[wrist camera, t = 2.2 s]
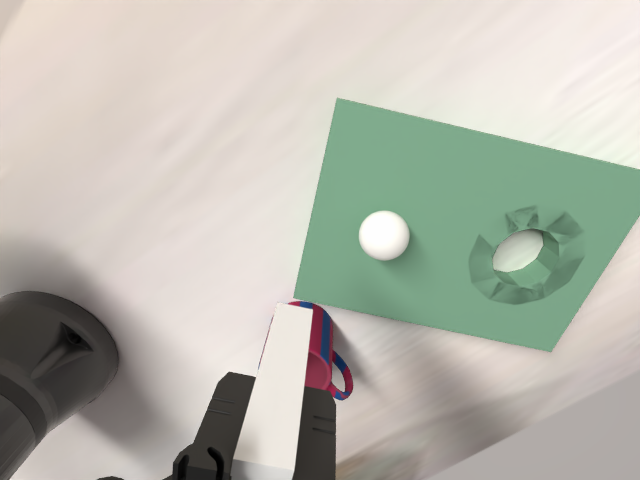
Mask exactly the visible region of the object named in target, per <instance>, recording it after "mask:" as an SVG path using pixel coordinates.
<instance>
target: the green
mask: <svg viewBox="0 0 640 480" xmlns="http://www.w3.org/2000/svg"><path fill="white" fill-rule="evenodd" d="M377 211H391V212H394V213H396V214H398V215H399V216H401V217H402V218H403V219H404V220H405V222H406V223H407V225H408V228H409V233H410V238H409V243H408V245H407V248H406V249H405V251H404V252H403V253H402V254H401V255H399V256H398V257H396V258H394V259H391V260H386V261H383V260H377V259H374V258H372V257H370V256H369V255H368V254H366V253H365V251H364V250H363V249H362V247H361V245H360V242H359V230H360V227H361V224H362V222H363V221H364V220H365V219H366V218H367V217H368V216H369V215H371V214H372V213H374V212H377ZM639 216H640V170H639V169H635V168H631V167H627V166H623V165H619V164H614V163H610V162H606V161H602V160H597V159H593V158H589V157H585V156H581V155H576V154H572V153H568V152H564V151H560V150H555V149H551V148H547V147H543V146H538V145H534V144H530V143H526V142H522V141H517V140H513V139H509V138H505V137H501V136H496V135H492V134H488V133H484V132H479V131H475V130H471V129H467V128H463V127H458V126H454V125H450V124H446V123H442V122H437V121H433V120H429V119H425V118H420V117H416V116H412V115H408V114H404V113H399V112H395V111H391V110H387V109H383V108H378V107H374V106H370V105H366V104H361V103H357V102H353V101H349V100H345V99H340V98H337V100H336V105H335V110H334V114H333V119H332V123H331V128H330V132H329V137H328V141H327V146H326V150H325V155H324V160H323V164H322V169H321V173H320V178H319V182H318V187H317V191H316V196H315V201H314V205H313V210H312V214H311V219H310V223H309V228H308V232H307V237H306V242H305V246H304V251H303V255H302V260H301V264H300V269H299V273H298V278H297V283H296V287H295V292H294V297H293V298H295V299H300V300H305V301H309V302H314V303H319V304H324V305H329V306H333V307H338V308H343V309H348V310H352V311H357V312H362V313H367V314H372V315H376V316H381V317H386V318H391V319H395V320H400V321H405V322H410V323H415V324H419V325H424V326H429V327H434V328H438V329H443V330H448V331H453V332H458V333H462V334H467V335H472V336H477V337H481V338H486V339H491V340H496V341H501V342H505V343H510V344H515V345H520V346H525V347H529V348H534V349H539V350H544V351H548V352H551V351H552V350H553V348H554V347H555V345H556V344H557V342H558V340H559V339H560V337H561V336H562V334H563V333H564V331H565V330H566V328H567V327H568V325H569V324H570V322H571V320H572V319H573V317H574V316H575V314H576V313H577V311H578V310H579V308H580V307H581V305H582V303H583V302H584V300H585V299H586V297H587V296H588V294H589V293H590V291H591V290H592V288H593V287H594V285H595V283H596V282H597V280H598V279H599V277H600V276H601V274H602V273H603V271H604V270H605V268H606V266H607V265H608V263H609V262H610V260H611V259H612V257H613V256H614V254H615V253H616V251H617V250H618V248H619V246H620V245H621V243H622V242H623V240H624V239H625V237H626V236H627V234H628V233H629V231H630V229H631V228H632V226H633V225H634V223H635V222H636V220H637V219H638V217H639ZM530 228H534V229H539V230H542V231H543V243H544V246H543V247H542V249H541V251H540V253H539V255H538V257H537V258H536V260H534V261H533V262H531V263H530V264H529V265H527V266H526V267H525V268H523V269H520V270H516V271H512V272H507V273H506V272H502V271H497V270H493V264H492V258H493V255H494V253H495V251H496V249H497V247H498V245H499V244H500V243H501V242H502V241H504V240H505V239H506V238H507V237H509V236H510V235H511V234H513V233H514V232H518V231H522V230H526V229H530Z"/></svg>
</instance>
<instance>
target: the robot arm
mask: <svg viewBox="0 0 640 480" xmlns="http://www.w3.org/2000/svg"><path fill="white" fill-rule="evenodd" d="M312 314H313V309H308V308H303V307H298V306H294V305H289V304H284V303H279V302H278V303H277V306H276V310H275V313H274V317H273V320H272V324H271V327H270V331H269V334H268V338H267V341H266V345H265V348H264V352H263V355H262V359H261V362H260V366H259V369H258V373H257V376H256V377H253V376H248V375H243V374H238V373H233V372H228V373H227V374H226V375H225V376H224V377H223V378H222V379H221V380H220V381H219V382H218V384H217V386H216V389H215V391H214V394H213V396H212V399H211V401H210V404H209V406H208V409H207V411H206V413H205V416H204V418H203V421H202V423H201V426H200V428H199V430H198V433H197V435H196V438H195V440H194V443H193V444H191V445H189V446H188V447H186V448H185V449H184V450H183V451H181V452H180V453H179V455H178V456H177V458H176V459H175V461H174V462H173V474H172V475H171V476H169V477H167V478H165V479H163V480H335V467H336V435H335V434H336V404H335V401H334V399H333V396H332V394H331V392H330V391H327V390H322V389H317V388H312V387H307V386H304V383H305V374H306V366H307V357H308V349H309V340H310V331H311V323H312ZM117 367H118V354H117V350H116V347H115V344H114V342H113V340H112V338H111V336H110V335H109V333H108V332H107V331H106V329H105V328H104V327H103V326H102V325H101V323H100V322H99V321H98V320H96V319H95V318H94V317H93V316H92V315H91V314H89V313H88V312H87V311H85V310H84V309H82V308H81V307H79V306H78V305H76V304H74V303H72V302H70V301H68V300H66V299H63V298H61V297H58V296H55V295H51V294H47V293H42V292H32V291H24V292H16V293H12V294H9V295H6V296H4V297H2V298H0V480H9V479H10V478H11V477H12V476H13V474H14V473H15V472H16V471H17V470H18V468H19V467H20V466H21V465H22V463H23V462H24V461H25V460H26V459H27V457H28V456H29V455H30V454H31V452H32V451H33V450H34V449H35V447H36V446H37V445H38V444H39V443H40V442H41V440H42V439H43V438H44V437H45V436H46V435H47V433H49V432H50V431H51V430H53V429H54V428H55V427H57V426H58V425H59V424H61V423H62V422H64V421H65V420H66V419H68V418H69V417H71V416H72V415H73V414H75V413H76V412H77V411H79V410H80V409H81V408H83V407H84V406H85V405H86V404H88V403H90V402H92V401H93V400H94V399H96V398H97V397H98V396H99V395H100V394H101V393H102V392H103V390H104V389H105V388H106V387H107V385H108V384H109V383H110V381H111V380H112V379H113V377H114V376H115V374H116V371H117ZM97 480H124V479H122V478H118V477H113V476H111V477H104V478H99V479H97Z"/></svg>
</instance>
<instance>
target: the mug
mask: <svg viewBox="0 0 640 480" xmlns="http://www.w3.org/2000/svg"><path fill="white" fill-rule="evenodd" d="M288 304H289V305H294V306H298V307H303V308H308V309H313V314H312V323H311V331H310V340H309V349H308V357H307V366H306V374H305V383H304V386H307V387H312V388H317V389H322V390H327V391H330V392H331V394H332V396H333V397H334V398H336V399H338V400H344V399H346V398H348V397H349V396H350V394H351V393H352V390H353V380H352V375H351V373H350V370H349V368H348V366H347V365H346V364H345V362H344V361H343V360H342V358H341V357H340V356H339V355H338V354H337V353H336V352H335V351H334V350H333V349H332V343H333V325H332V321H331V318H330V317H329V315H328V314H327V313H326V311H325V310H323V309H322V308H321V307H319V306H317V305H315V304H313V303H309V302H302V301H298V302H291V303H288ZM273 317H274V315H273ZM272 320H273V318H272ZM271 324H272V321H271ZM271 324H270V327H271ZM269 331H270V328H269ZM269 331H268V334H269ZM267 338H268V335H267ZM267 338H266V341H267ZM265 345H266V342H265ZM265 345H264V348H265ZM263 352H264V349H263ZM263 352H262V355H263ZM261 359H262V356H261ZM261 359H260V362H261ZM332 361H333V362H334V363H335V365H336V366H337V367H338V368H339V370H340V371H341V373H342V375H343V377H344V381H345V392H342V391H340V390H339V389H337V388H336V387H335V386H334V385H333V383H332V382H331V379H332ZM259 366H260V363H259ZM258 369H259V367H258Z"/></svg>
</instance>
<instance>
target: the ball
mask: <svg viewBox="0 0 640 480" xmlns="http://www.w3.org/2000/svg"><path fill="white" fill-rule="evenodd" d="M409 238H410V233H409V228H408V225H407V223H406V222H405V220H404V219H403V218H402V217H401V216H399V215H398V214H396V213H394V212H391V211H377V212H374V213H372V214H371V215H369V216H368V217H367V218H366V219H365V220H364V221H363V222H362V224H361V227H360V230H359V242H360V245H361V247H362V249H363V250H364V251H365V253H366V254H368V255H369V256H370V257H372V258H374V259H377V260H383V261H386V260H391V259H394V258H396V257H398V256H399V255H401V254H402V253H403V252H404V251H405V249H406V248H407V245H408V243H409Z"/></svg>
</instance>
